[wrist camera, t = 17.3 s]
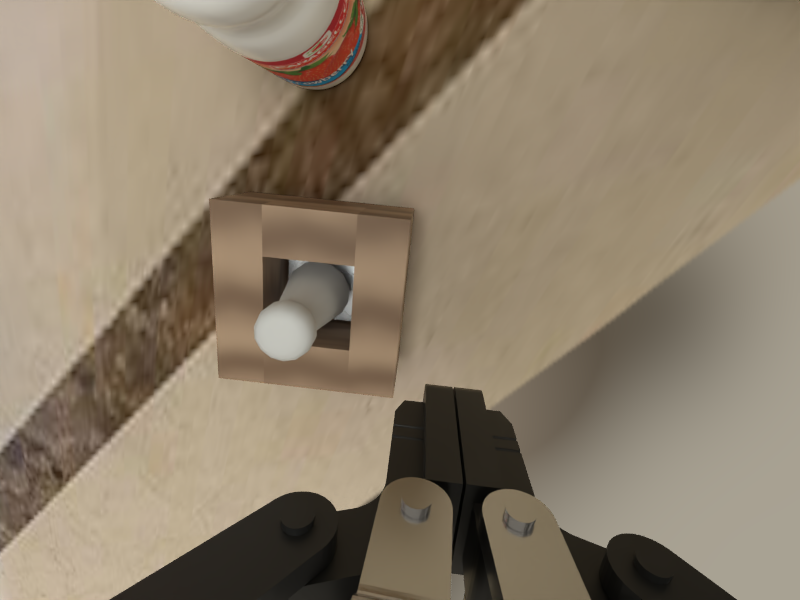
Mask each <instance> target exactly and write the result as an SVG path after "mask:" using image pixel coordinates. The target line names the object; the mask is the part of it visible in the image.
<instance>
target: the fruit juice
mask: <svg viewBox="0 0 800 600" xmlns="http://www.w3.org/2000/svg"><path fill="white" fill-rule="evenodd" d="M154 1H155V2H157V3H158V4H159V5H161V6H162V7H164V8H165V9H167V10H168V11H170V12H171V13H173V14H175V15H177V16H179V17H181V18H183V19H186V20H188V21H191V22H194V23H196V24H197V25H198V26H199V27H201V28H202V29H203V30H204V31H205V32H206V33H207V34H209V35H210V36H211V37H213V38H214V39H215V40H217V41H218V42H219V43H221V44H222V45H224V46H225V47H227V48H228V49H230V50H232V51H233V52H235V53H237V54H239V55H241V56H243V57H245V58H247V59H248V60H250V61H252V62H254V63H256V64H257V65H259V66H261V67H263V68H264V69H266V70H268V71H270V72H271V73H273V74H275V75H277V76H278V77H280V78H282V79H284V80H286V81H287V82H289V83H291V84H293V85H295V86H298V87H301V88H305V89H313V90H320V89H327V88H330V87H333V86H335V85H337V84H339V83H341V82H343V81H344V80H345V79H346V78H348V77H349V76H350V75H351V74H352V73H353V71H354V70H355V69H356V67H357V66H358V64H359V62H360V61H361V58H362V56H363V54H364V51H365V47H366V42H367V33H368V26H367V15H366V10H365V6H364V3H363V0H154Z"/></svg>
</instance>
